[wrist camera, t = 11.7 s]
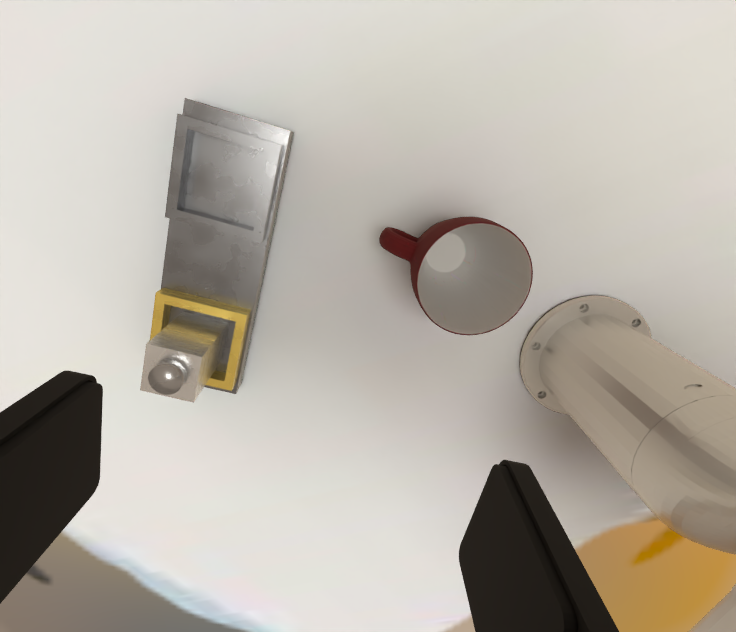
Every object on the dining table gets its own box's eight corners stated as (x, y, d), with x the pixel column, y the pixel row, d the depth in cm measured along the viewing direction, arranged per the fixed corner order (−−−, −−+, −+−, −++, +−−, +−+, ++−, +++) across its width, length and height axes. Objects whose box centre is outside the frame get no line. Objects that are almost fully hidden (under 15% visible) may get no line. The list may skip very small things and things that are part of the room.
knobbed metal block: (228, 323, 37) (197, 363, 30) (220, 361, 39) (188, 409, 31) (183, 311, 37) (139, 349, 29) (177, 351, 38) (133, 396, 31)
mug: (364, 278, 39) (367, 316, 29) (385, 189, 36) (397, 199, 26) (472, 302, 40) (509, 345, 30) (501, 218, 37) (551, 236, 28)
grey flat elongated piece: (293, 132, 34) (287, 129, 31) (241, 383, 42) (231, 402, 39) (194, 101, 33) (176, 94, 30) (159, 364, 41) (142, 382, 38)
